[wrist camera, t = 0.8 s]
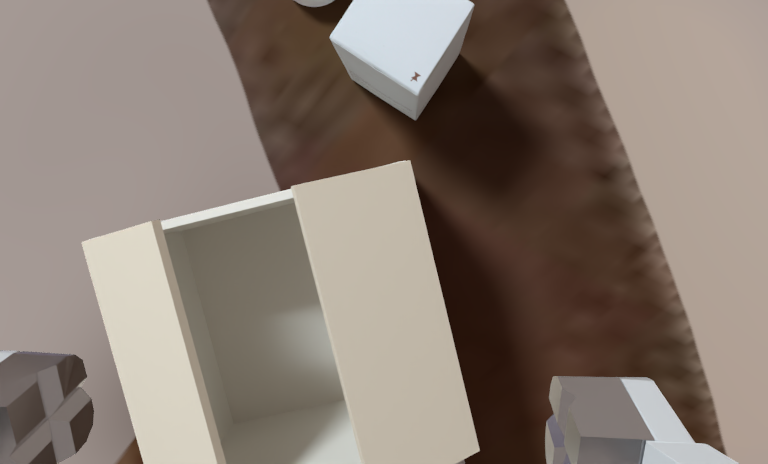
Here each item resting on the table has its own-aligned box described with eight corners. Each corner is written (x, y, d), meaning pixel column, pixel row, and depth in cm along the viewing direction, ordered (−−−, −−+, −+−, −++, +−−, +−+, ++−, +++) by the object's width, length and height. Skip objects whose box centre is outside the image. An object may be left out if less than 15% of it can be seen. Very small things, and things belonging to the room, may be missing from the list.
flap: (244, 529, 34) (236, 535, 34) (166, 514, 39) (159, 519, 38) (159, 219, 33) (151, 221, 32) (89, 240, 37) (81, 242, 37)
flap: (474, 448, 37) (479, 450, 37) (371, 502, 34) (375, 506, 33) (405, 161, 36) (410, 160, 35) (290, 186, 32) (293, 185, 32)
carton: (456, 378, 51) (474, 449, 37) (231, 428, 53) (167, 514, 39) (406, 168, 50) (405, 160, 36) (176, 225, 51) (90, 238, 37)
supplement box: (462, 52, 49) (480, 5, 36) (415, 123, 50) (417, 100, 37) (392, 6, 49) (387, -58, 36) (347, 77, 50) (326, 39, 37)
